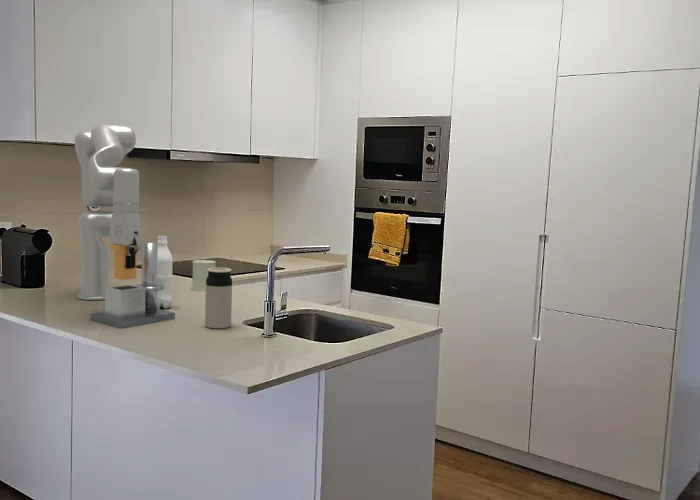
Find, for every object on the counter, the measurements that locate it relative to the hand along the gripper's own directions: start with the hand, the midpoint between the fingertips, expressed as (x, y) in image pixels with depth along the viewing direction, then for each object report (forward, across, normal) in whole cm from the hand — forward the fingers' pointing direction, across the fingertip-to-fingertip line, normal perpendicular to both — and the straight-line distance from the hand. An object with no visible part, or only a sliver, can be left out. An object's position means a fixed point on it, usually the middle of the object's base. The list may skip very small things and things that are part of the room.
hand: (125, 266), depth 214 cm
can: (+17, -27, +56) cm, 65 cm away
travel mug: (+17, +25, +16) cm, 34 cm away
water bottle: (+17, -9, +21) cm, 29 cm away
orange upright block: (+4, 0, 0) cm, 4 cm away
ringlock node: (+17, 0, +3) cm, 17 cm away
